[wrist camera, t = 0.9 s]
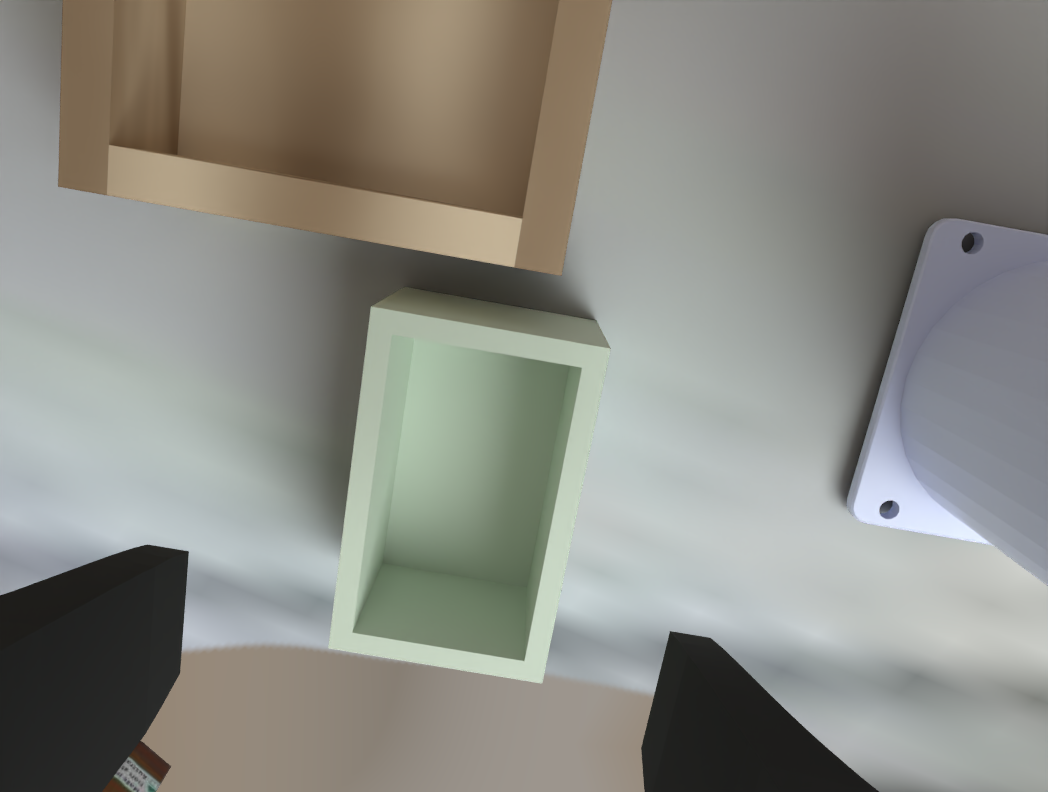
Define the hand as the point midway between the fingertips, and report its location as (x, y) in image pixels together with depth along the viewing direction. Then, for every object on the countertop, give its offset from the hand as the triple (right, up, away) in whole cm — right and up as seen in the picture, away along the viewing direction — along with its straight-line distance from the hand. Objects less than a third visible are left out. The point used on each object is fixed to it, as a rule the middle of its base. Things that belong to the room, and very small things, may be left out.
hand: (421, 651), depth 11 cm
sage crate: (0, +2, +9) cm, 10 cm away
